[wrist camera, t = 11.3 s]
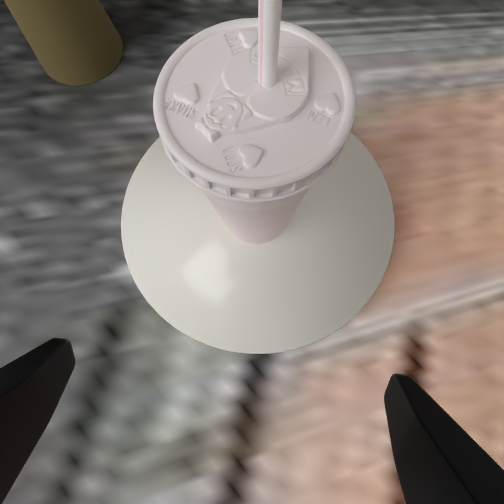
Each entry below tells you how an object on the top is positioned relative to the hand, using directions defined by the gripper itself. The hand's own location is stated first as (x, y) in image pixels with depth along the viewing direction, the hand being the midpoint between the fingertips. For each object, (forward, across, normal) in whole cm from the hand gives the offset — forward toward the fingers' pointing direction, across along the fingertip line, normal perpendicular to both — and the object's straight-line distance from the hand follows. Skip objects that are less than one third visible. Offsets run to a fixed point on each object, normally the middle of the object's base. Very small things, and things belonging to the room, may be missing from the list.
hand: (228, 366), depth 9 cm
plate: (+13, 0, +1) cm, 13 cm away
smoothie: (+12, 0, 0) cm, 12 cm away
